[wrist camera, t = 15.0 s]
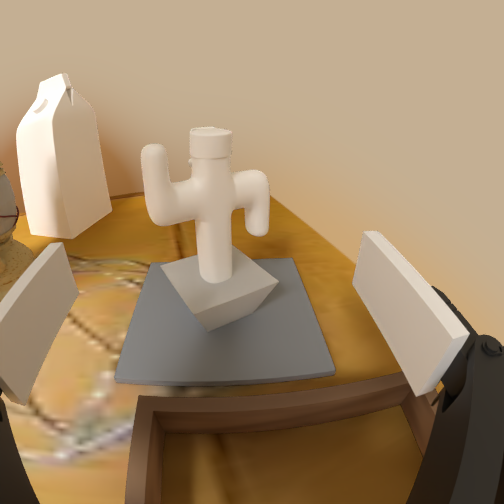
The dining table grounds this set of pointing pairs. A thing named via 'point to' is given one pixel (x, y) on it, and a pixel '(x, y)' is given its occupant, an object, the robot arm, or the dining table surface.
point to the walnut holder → (262, 420)
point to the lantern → (10, 240)
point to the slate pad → (224, 337)
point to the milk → (61, 162)
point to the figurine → (211, 226)
